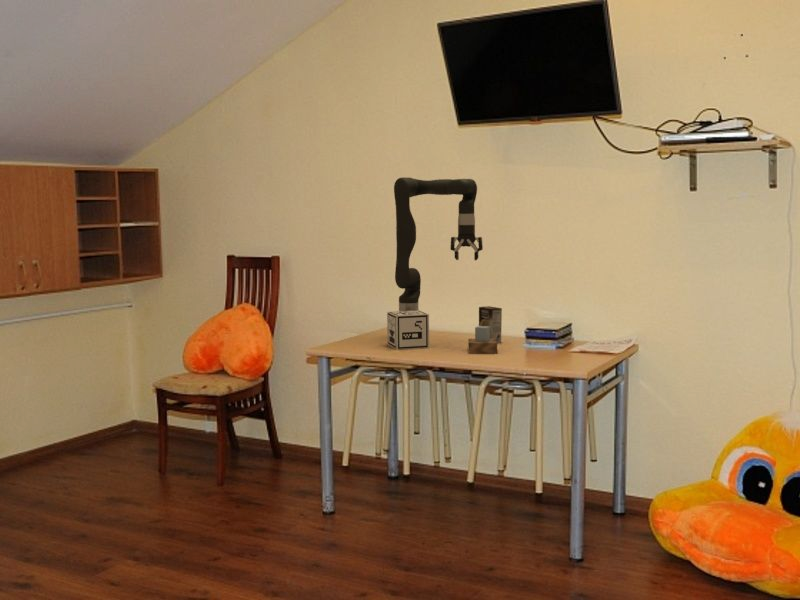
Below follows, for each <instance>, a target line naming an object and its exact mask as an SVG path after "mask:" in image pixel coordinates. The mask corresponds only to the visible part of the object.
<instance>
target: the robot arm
mask: <svg viewBox="0 0 800 600" xmlns="http://www.w3.org/2000/svg"><path fill="white" fill-rule="evenodd" d="M393 184H394V185H393V194H394V201H395V204H394V205H395V216H396V218H395V220H396V221H395V222H396V223H395V225H396V226H395V232H396V233H395V234H396V238H395V239H396V258H395V272H394V280H395V283H396V286H397V287H398V288H399V289H404V291H403V293H402V294H401V295H400V296H399V297H398V311H417V310H419V311H420V309H419V298H420V297H421V286H422V285H421V284H422V283H421V281H422V279H421V278H422V277H421V274H420V271H419V270H418V269H417V268H415V267H410V258H411V256H412V255H411V254H412V252H413V250H414V247H415V245H416V243H417V242H416V241H417V240H416V239H417V225H416V222H415V219H414V216H413V214H412V212H411V206H410V201H411V200H410V198H412V197H413V198H414V197H417V196H421V195H422V196H423V195H435V196H436V195H437V196H452V195H456V196H457V195H459V196H460V195H461V196H462V198H461V200H460V201H459V202H458V218H457V237H456V236H451V237H450V251H453V252H454V259H455V261H459V253H460V252H459V250H460V249H461V248H462V247H471V248H472V249H473V250H474V257H473V259H474V261H477V260H478V259H479V252H481V251H483V238H482V236H479V237H476V228H475V227H476V215H475V202H476V199H477V193H478V184H477V183H476V181H475V180H474V179H473V178H458V179H457V178H456V179H448V178H446V179H444V178H442V179H440V178H439V179H431V180H425V179H424V180H423V179H418V178H413V177H404V176H403V177H398V178H397V179H396V180H395V181H394V183H393ZM456 241H458V244H457V245H455V244H456ZM475 242H477V243H478V247H477V245H476V243H475ZM455 246H456V247H455Z"/></svg>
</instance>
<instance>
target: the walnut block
mask: <svg viewBox="0 0 800 600" xmlns="http://www.w3.org/2000/svg"><path fill="white" fill-rule="evenodd" d="M467 343H468V348H467V349H468V354H469V355H474V354H475V355H476V354H477V355H479V354H480V355H491V354H493V355H496V354H498V343H497V341H496V339H490V340H489V341H487V342H479V341H475V338H468V342H467Z"/></svg>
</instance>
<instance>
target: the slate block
mask: <svg viewBox="0 0 800 600" xmlns="http://www.w3.org/2000/svg"><path fill="white" fill-rule="evenodd" d="M474 339H475V341H479V342H487V341H489V340H490V326H479V325H477V326H476V327H474Z"/></svg>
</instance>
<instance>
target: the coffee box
mask: <svg viewBox="0 0 800 600" xmlns="http://www.w3.org/2000/svg"><path fill="white" fill-rule="evenodd" d="M502 309H503V308H501V307H495V306H490V305H489V306H487V305H486V306H479V307H478V326H490V339H496V341H497V344H501V343H502V319H503V318H502V316H503V315H502V314H503V313H502V311H503V310H502Z"/></svg>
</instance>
